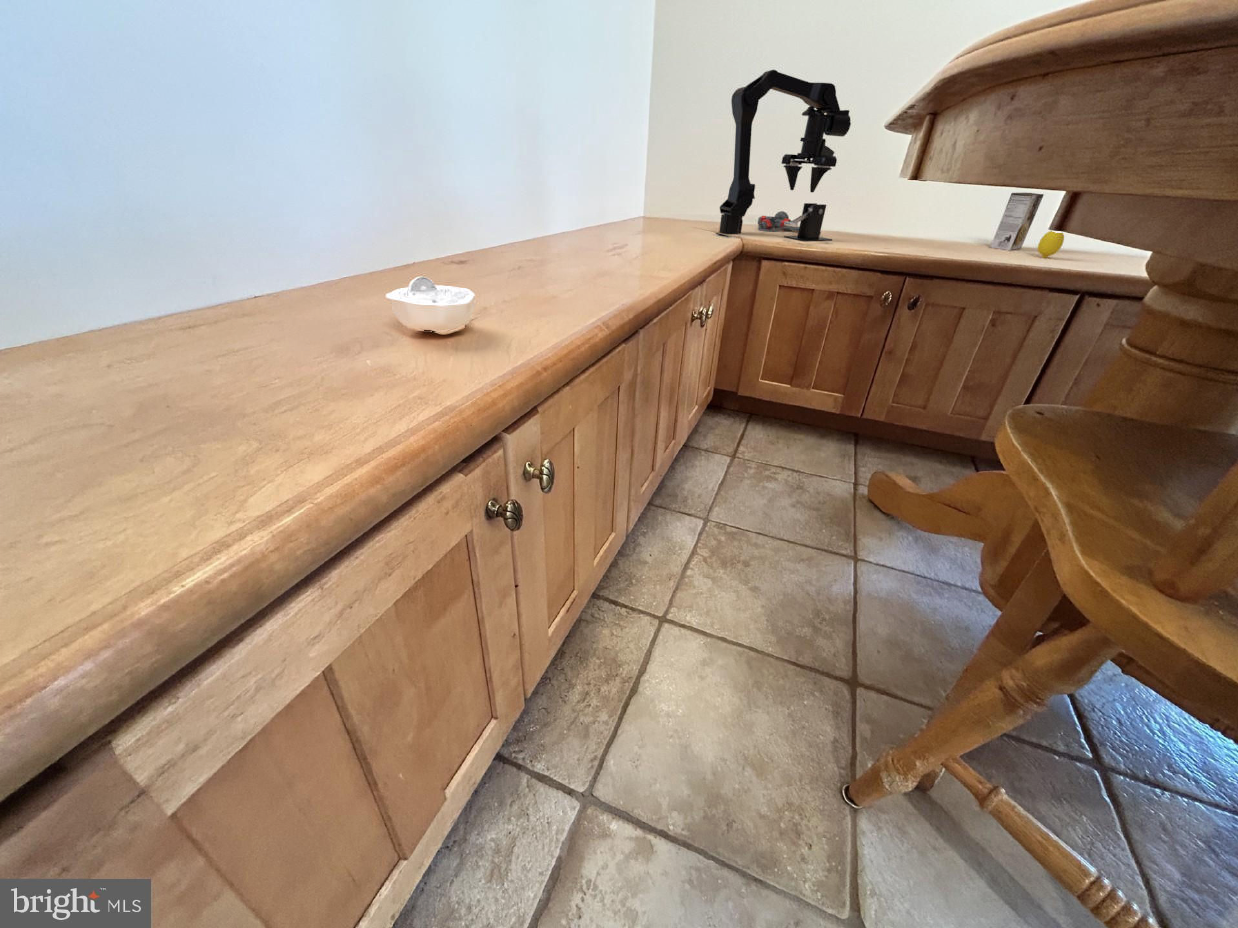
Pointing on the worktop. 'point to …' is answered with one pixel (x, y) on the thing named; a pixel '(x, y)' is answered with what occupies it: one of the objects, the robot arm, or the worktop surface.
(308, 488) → the worktop surface
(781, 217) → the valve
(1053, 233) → the lemon
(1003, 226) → the coffee box
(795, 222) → the tap lever
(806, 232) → the tap bracket
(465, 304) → the cell model
